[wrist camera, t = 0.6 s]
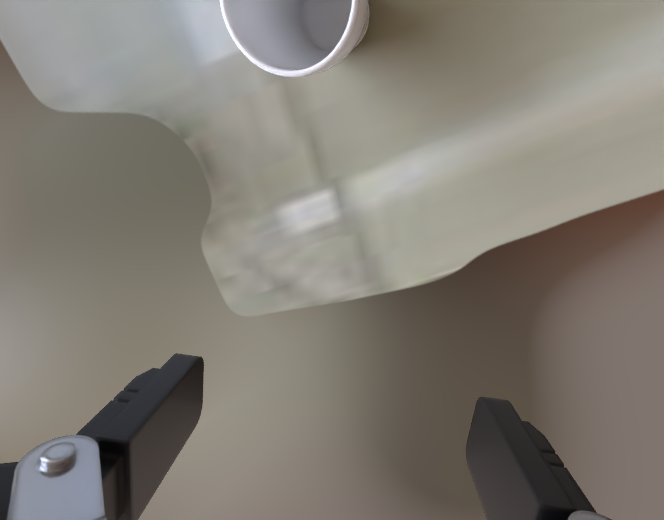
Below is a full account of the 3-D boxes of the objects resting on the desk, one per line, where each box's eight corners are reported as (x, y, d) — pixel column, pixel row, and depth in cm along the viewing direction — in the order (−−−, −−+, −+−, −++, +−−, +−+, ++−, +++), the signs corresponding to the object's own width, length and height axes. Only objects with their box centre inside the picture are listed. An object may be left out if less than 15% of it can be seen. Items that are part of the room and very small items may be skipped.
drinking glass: (358, -58, 28) (318, -143, 15) (392, 39, 30) (383, 37, 18) (280, -7, 30) (187, -43, 17) (318, 79, 33) (262, 102, 20)
